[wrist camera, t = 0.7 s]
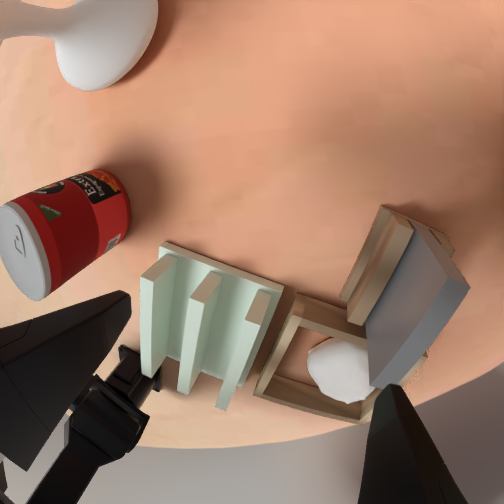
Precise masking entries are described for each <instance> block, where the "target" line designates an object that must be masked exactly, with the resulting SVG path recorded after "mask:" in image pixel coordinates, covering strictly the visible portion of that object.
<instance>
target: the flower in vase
mask: <svg viewBox="0 0 504 504" xmlns="http://www.w3.org/2000/svg"><path fill="white" fill-rule="evenodd" d="M157 19H158V0H77V1H76V2H75V3H74V4H73V5H72V6H70V7H68V8H65V9H53V8H45V7H40V6H35V5H31V4H27V3H24V2H21V1H19V0H0V40H3V39H7V38H11V37H18V36H44V37H48V38H51V39H52V40H54V42H55V47H56V57H57V62H58V65H59V68H60V71H61V73H62V75H63V77H64V78H65V80H66V81H67V82H68V83H69V84H70V85H72V86H74V87H76V88H78V89H79V90H82V91H87V92H93V91H98V90H102V89H104V88H107V87H109V86H110V85H112V84H114V83H115V82H117V81H118V80H119V79H121V78H122V77H123V76H124V75H125V74H126V73H127V72H128V71H130V70H131V69H132V67H133V66H134V65H135V64H136V63H137V62H138V60H139V59H140V58H141V57H142V55H143V53H144V52H145V50H146V49H147V47H148V45H149V43H150V41H151V39H152V36H153V34H154V31H155V28H156V24H157Z"/></svg>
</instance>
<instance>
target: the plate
mask: <svg viewBox="0 0 504 504" xmlns="http://www.w3.org/2000/svg"><path fill="white" fill-rule="evenodd" d="M409 224H410V225H411V227H412V228H413V230H414V232H413V234H412V236H411V238H410V240H409V242H408V244H407V246H406V248H405V250H404V252H403V254H402V256H401V258H400V260H399V262H398V264H397V266H396V268H395V270H394V272H393V273H392V275H391V277H390V279H389V281H388V283H387V284H386V286H385V288H384V290H383V291H382V293H381V295H380V297H379V298H378V300H377V302H376V303H375V305H374V307H373V308H372V310H371V312H370V313H369V315H368V317H367V318H366V320H365V325H366V336H367V349H368V365H369V386H373V387H377V388H381V389H384V388H385V387H386V386H387V385H388V384H390V383H392V384H398V383H399V382H400V381H401V379H402V378H403V377H404V376H405V375H406V374H407V373H408V372H409V370H410V369H411V368H412V367H413V366H414V365H415V363H416V362H417V361H418V360H419V359H420V358H421V356H422V355H423V354H424V353H425V351H426V350H427V349H428V348H429V346H430V345H431V344H432V343H433V341H434V340H435V339H436V337H437V336H438V335H439V333H440V332H441V331H442V329H443V328H444V327H445V325H446V324H447V322H448V321H449V320H450V318H451V317H452V315H453V314H454V312H455V311H456V309H457V308H458V306H459V305H460V303H461V302H462V300H463V299H464V297H465V296H466V294H467V292H468V291H469V289H470V288H471V287H470V286H469V284H468V283H467V281H466V280H465V278H464V277H463V275H462V274H461V272H460V271H459V269H458V268H457V267H456V265H455V264H454V262H453V261H452V260H451V258H450V257H449V256H448V254H447V253H446V251H445V250H444V249H443V247H442V246H441V245H440V244H439V242H438V241H437V240H436V238H435V237H434V236H433V235H432V233H431V232H430V231H429V230H428V228H426V227H424V226H422V225H419V224H417V223H415V222H413V221H411V220H409Z"/></svg>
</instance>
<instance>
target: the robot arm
mask: <svg viewBox="0 0 504 504" xmlns="http://www.w3.org/2000/svg"><path fill="white" fill-rule="evenodd" d="M131 313H132V310H131V296H130V295H129V294H128V293H126V292H124V291H122V290H118V291H115V292H112V293H109V294H106V295H103V296H99V297H96V298H93V299H90V300H87V301H84V302H81V303H78V304H75V305H72V306H69V307H66V308H63V309H60V310H57V311H54V312H51V313H48V314H45V315H42V316H39V317H36V318H33V320H32V319H30V320H27V321H24V322H21V323H18V324H14V325H11V326H7V327H3V328H0V504H14V503H13V502H12V501H11V500H10V499H9V498H8V497H7V496H6V495H5V494H4V492H5V491H6V489H7V482H6V477H5V471H4V465H3V459H4V458H5V457H7V458H8V459H9V460H11V461H12V462H14V463H15V464H16V465H18V466H19V467H20V468H22V469H24V470H25V471H28V469H29V468H30V466H31V465H32V463H33V461H34V460H35V458H36V457H37V455H38V454H39V452H40V450H41V449H42V447H43V446H44V444H45V443H46V441H47V440H48V438H49V436H50V435H51V433H52V432H53V430H54V429H55V427H56V426H57V424H58V423H59V421H60V420H61V419H62V417H63V416H64V414H65V413H66V411H67V410H68V408H69V409H70V410H71V411H72V412H73V413H72V414H71V415H70V417H69V418H68V420H67V422H66V423H65V425H64V448H63V450H62V451H61V452H60V454H59V456H58V457H57V458H56V459H55V461H54V462H53V464H52V465H51V467H50V468H49V469H48V471H47V473H46V474H45V475H44V477H43V478H42V480H41V481H40V483H39V484H38V485H37V487H36V488H35V490H34V491H33V493H32V494H31V496H30V497H29V499H28V500H27V502H26V503H25V504H77V502H78V501H79V499H80V497H81V496H82V494H83V492H84V491H85V489H86V487H87V486H88V484H89V482H90V481H91V479H92V477H93V476H94V474H95V473H96V471H97V470H98V468H99V467H100V466H102V465H105V464H108V463H110V462H113V461H115V460H118V459H120V458H122V457H123V456H124V455H125V453H129V452H130V451H131V450H132V449H133V448H134V447H135V446H136V444H137V443H138V441H139V440H140V438H141V435H142V433H143V431H144V429H145V427H146V425H147V423H148V420H149V418H150V416H149V415H147V414H145V413H143V412H142V411H141V410H139V409H140V407H141V406H142V404H143V403H144V401H145V400H146V398H147V396H148V395H149V393H150V392H151V390H152V389H153V390H155V391H157V392H160V390H161V366H160V367H159V368H158V370H157V371H156V373H155V374H154V375H153V377H152V378H150V377H148V376H146V375H144V374H142V369H141V356H140V355H139V354H137V353H135V352H133V351H131V350H129V349H127V348H126V347H124V346H122V345H120V346H119V348H118V350H119V357H120V362H119V363H118V365H117V366H116V367H115V368H114V370H113V371H112V372H111V373H110V375H109V376H108V377H107V378H106V380H105V381H103V380H102V379H101V378H100V376H98V375H97V374H96V375H95V376H94V375H93V373H94V372H95V371H96V369H97V368H98V367H99V365H100V364H101V363H102V361H103V360H104V359H105V357H106V356H107V355H108V353H109V352H110V350H111V349H112V347H113V346H114V344H115V342H116V341H117V339H118V337H119V335H120V334H121V332H122V330H123V329H124V327H125V326H126V324H127V322H128V321H129V319H130V317H131ZM90 389H91V390H90ZM358 504H468V502H467V501H466V499H465V497H464V496H463V494H462V493H461V491H460V490H459V488H458V486H457V484H456V483H455V481H454V479H453V477H452V476H451V474H450V472H449V470H448V468H447V466H446V465H445V464H444V461H443V459H442V457H441V455H440V453H439V451H438V450H437V448H436V446H435V444H434V442H433V440H432V439H431V437H430V435H429V433H428V431H427V430H426V428H425V426H424V424H423V423H422V421H421V419H420V417H419V416H418V414H417V412H416V410H415V409H414V407H413V405H412V404H411V402H410V400H409V399H408V397H407V395H406V394H405V392H404V390H403V389H402V387H401V386H400V385H397V384H392V383H390V384H388V385H387V386H386V387H385V388H384V389H383V390H382V392H381V393H380V394H379V395H378V396H377V397H376V399H375V402H374V408H373V413H372V419H371V424H370V429H369V434H368V438H367V445H366V454H365V462H364V469H363V475H362V482H361V488H360V493H359V499H358Z"/></svg>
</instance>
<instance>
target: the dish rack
mask: <svg viewBox="0 0 504 504" xmlns="http://www.w3.org/2000/svg"><path fill="white" fill-rule="evenodd" d="M283 289H284V286H283V285H280V284H278V283H275V282H272V281H269V280H267V279H264V278H261V277H258V276H256V275H253V274H250V273H248V272H245V271H242V270H239V269H237V268H234V267H231V266H229V265H226V264H223V263H221V262H218V261H215V260H213V259H210V258H207V257H205V256H202V255H199V254H197V253H194V252H192V251H189V250H186V249H184V248H181V247H179V246H176V245H173V244H171V243H168V242H166V241H165V242H164V243H163V244H161V245H160V246H159V256H158V261H157V262H156V263H155V264H153V265H152V266H151V267H150V268H149V269H148V270H147V271H146V272H145V273H143V274H142V275H141V276H140V349H141V369H142V374H144V375H146V376H148V377H150V378H152V377H153V375H154V374H155V373H156V371H157V370H158V368H159V367H160V365H161V364H162V362H163V361H164V359H165V358H166V356H168V357H170V358H172V359H174V360H176V361H178V362H180V368H179V377H178V386H177V391H179V392H181V393H183V394H185V395H188V394H189V392H190V390H191V388H192V386H193V385H194V383H195V381H196V379H197V377H198V375H199V373H200V372H203V373H206V374H208V375H211V376H213V377H216V378H218V379H221V380H223V381H224V382H223V385H222V387H221V390H220V393H219V396H218V399H217V402H216V405H215V407H216V408H219V409H222V410H224V411H226V410H227V407H228V405H229V403H230V400H231V398H232V396H233V393H234V391H235V388H236V386H239V387H243V385H244V383H245V380H246V378H247V376H248V374H249V371H250V369H251V367H252V364H253V362H254V360H255V357H256V355H257V353H258V350H259V348H260V346H261V343H262V341H263V339H264V336H265V334H266V331H267V329H268V327H269V324H270V322H271V319H272V317H273V314H274V312H275V309H276V307H277V304H278V302H279V299H280V297H281V294H282V292H283Z"/></svg>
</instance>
